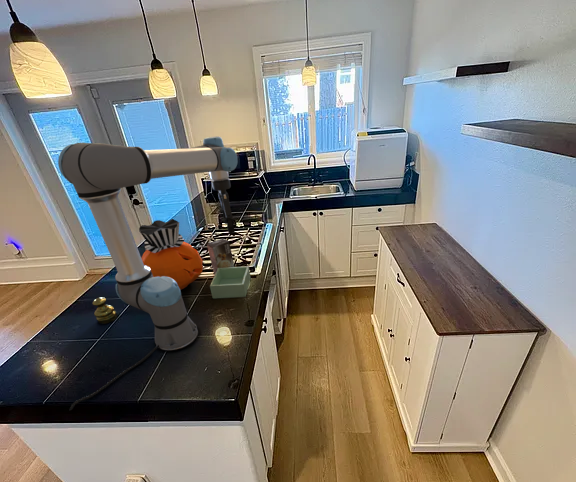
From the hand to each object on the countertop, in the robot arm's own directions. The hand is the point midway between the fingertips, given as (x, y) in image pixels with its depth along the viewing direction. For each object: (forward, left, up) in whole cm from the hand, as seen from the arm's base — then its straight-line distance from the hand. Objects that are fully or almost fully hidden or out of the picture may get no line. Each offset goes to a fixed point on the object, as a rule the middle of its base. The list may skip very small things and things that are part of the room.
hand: (229, 228), depth 142 cm
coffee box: (-3, +7, -23) cm, 25 cm away
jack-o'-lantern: (-23, +17, -23) cm, 37 cm away
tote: (-11, -8, -23) cm, 27 cm away
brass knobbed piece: (-57, +18, -23) cm, 64 cm away
